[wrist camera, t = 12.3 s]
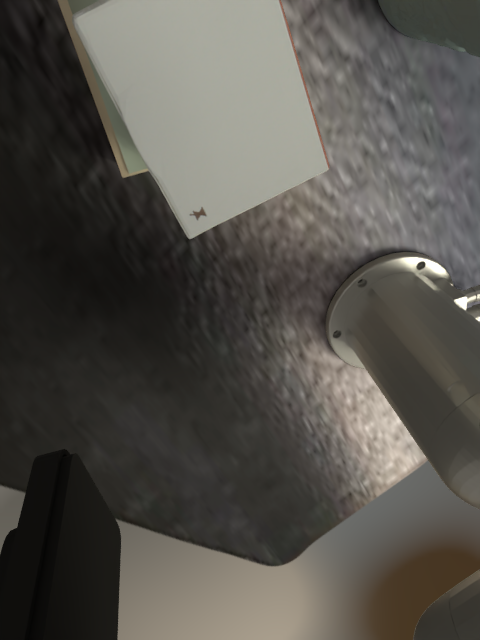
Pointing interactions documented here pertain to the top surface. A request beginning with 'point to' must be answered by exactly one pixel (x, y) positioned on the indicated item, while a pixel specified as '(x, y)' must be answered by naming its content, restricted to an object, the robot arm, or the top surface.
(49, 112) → the top surface
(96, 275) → the top surface
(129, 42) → the small box
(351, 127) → the top surface
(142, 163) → the plinth
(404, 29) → the green tumbler
